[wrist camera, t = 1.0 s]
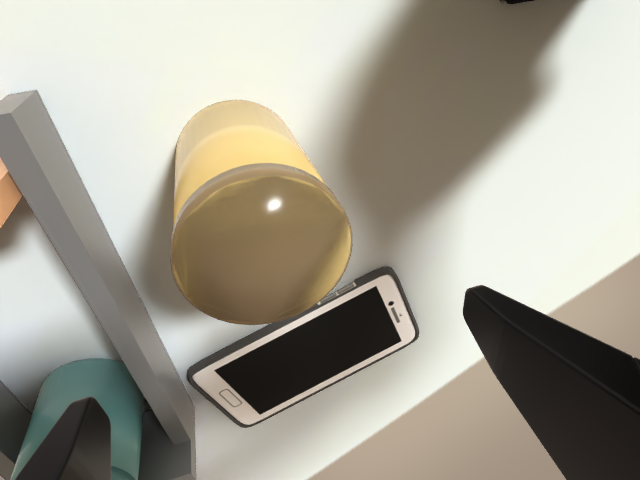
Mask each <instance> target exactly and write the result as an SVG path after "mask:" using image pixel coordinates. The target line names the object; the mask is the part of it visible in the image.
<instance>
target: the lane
mask: <svg viewBox="0 0 640 480" xmlns="http://www.w3.org/2000/svg"><path fill="white" fill-rule="evenodd" d="M0 158H1V160H2V161H3V163H4V165H5V166H6V168H7V170H8V171H9V173H10V175H11V176H12V178H13V180H14V181H15V183H16V184H17V186H18V188H19V189H20V191H21V193H22V194H23V196H24V198H25V199H26V201H27V203H28V204H29V206H30V208H31V209H32V211H33V213H34V214H35V216H36V218H37V219H38V221H39V223H40V224H41V226H42V228H43V229H44V231H45V233H46V234H47V236H48V238H49V239H50V241H51V242H52V244H53V246H54V247H55V249H56V251H57V252H58V254H59V256H60V257H61V259H62V261H63V262H64V264H65V266H66V267H67V269H68V271H69V272H70V274H71V276H72V277H73V279H74V281H75V282H76V284H77V286H78V287H79V289H80V291H81V292H82V294H83V296H84V297H85V299H86V301H87V302H88V304H89V305H90V307H91V309H92V310H93V312H94V314H95V315H96V317H97V319H98V320H99V322H100V324H101V325H102V327H103V329H104V330H105V332H106V334H107V335H108V337H109V339H110V340H111V342H112V344H113V345H114V347H115V349H116V350H117V352H118V354H119V355H120V357H121V359H122V360H123V362H124V364H125V365H126V367H127V368H128V370H129V372H130V373H131V375H132V377H133V378H134V380H135V382H136V383H137V385H138V387H139V388H140V390H141V392H142V393H143V395H144V397H145V398H146V400H147V402H148V403H149V405H150V407H151V408H152V410H149V411H146V412H144V414H143V426H142V439H141V451H140V463H139V475H138V480H196V450H195V417H194V405H193V403H192V401H191V399H190V397H189V395H188V393H187V391H186V389H185V387H184V385H183V383H182V381H181V379H180V377H179V375H178V373H177V371H176V369H175V367H174V365H173V363H172V361H171V359H170V357H169V355H168V353H167V351H166V349H165V347H164V345H163V343H162V341H161V339H160V337H159V335H158V333H157V331H156V329H155V327H154V325H153V323H152V321H151V319H150V317H149V315H148V313H147V311H146V309H145V307H144V305H143V303H142V301H141V299H140V297H139V295H138V293H137V291H136V289H135V287H134V285H133V283H132V281H131V279H130V277H129V275H128V273H127V271H126V269H125V266H124V264H123V262H122V260H121V258H120V256H119V254H118V252H117V250H116V248H115V246H114V244H113V242H112V240H111V238H110V236H109V234H108V232H107V230H106V228H105V226H104V224H103V222H102V220H101V218H100V216H99V214H98V212H97V210H96V208H95V206H94V204H93V202H92V200H91V198H90V196H89V194H88V192H87V190H86V188H85V186H84V184H83V182H82V180H81V178H80V176H79V174H78V172H77V170H76V168H75V166H74V164H73V162H72V160H71V158H70V156H69V154H68V152H67V150H66V148H65V146H64V144H63V142H62V140H61V138H60V136H59V134H58V132H57V130H56V128H55V126H54V124H53V122H52V120H51V118H50V115H49V113H48V111H47V109H46V107H45V105H44V103H43V101H42V99H41V97H40V95H39V93H38V91H37V90H33V91H28V92H22V93H16V94H10V95H8V96H6V97H5V98H4V99H2V100H1V101H0ZM31 416H32V415H31V414H30V413H29V412H28V411H27V410H26V409H25V407H24V406H23V405H22V404H21V403H20V402H19V401H18V400H17V399H16V398H15V396H14V395H13V394H12V393H11V392H10V391H9V390H8V389H7V388H6V387H5V386H4V384H3V383H2V382H1V381H0V476H2V477H3V478H4V479H5V480H10V479H11V476H12V473H13V470H14V467H15V464H16V461H17V458H18V455H19V452H20V449H21V446H22V443H23V440H24V437H25V434H26V431H27V428H28V425H29V422H30V419H31Z"/></svg>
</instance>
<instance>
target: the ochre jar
mask: <svg viewBox="0 0 640 480" xmlns="http://www.w3.org/2000/svg"><path fill="white" fill-rule="evenodd" d="M351 250H352V232H351V226H350V223H349V220H348V217H347V215H346V213H345V211H344V209H343V208H342V206H341V205H340V203H339V202H338V200H337V199H336V197H335V196H334V194H333V193H332V192H331V190H330V189H329V188H328V187H327V186H326V185H325V183H324V182H323V180H322V179H321V177H320V175H319V174H318V172H317V171H316V169H315V168H314V166H313V165H312V163H311V162H310V160H309V159H308V157H307V156H306V154H305V153H304V151H303V149H302V148H301V146H300V145H299V143H298V142H297V140H296V139H295V137H294V136H293V134H292V133H291V131H290V130H289V128H288V127H287V125H286V124H285V123H284V121H283V120H282V119H281V118H280V117H279V116H278V115H277V114H275V113H274V112H273V111H271V110H270V109H268V108H266V107H265V106H262V105H260V104H258V103H254V102H250V101H245V100H228V101H222V102H218V103H215V104H212V105H210V106H208V107H206V108H204V109H202V110H201V111H199V112H198V113H197V114H196V115H194V116H193V117H192V118H191V119H190V120H189V121H188V123H187V124H186V125H185V127H184V128H183V130H182V132H181V134H180V136H179V139H178V142H177V147H176V157H175V192H174V226H173V231H172V237H171V267H172V273H173V276H174V279H175V282H176V284H177V286H178V288H179V290H180V291H181V292H182V294H183V295H184V296H185V298H186V299H187V300H188V301H189V302H190V303H191V304H192V305H193V306H195V307H196V308H197V309H199V310H200V311H202V312H203V313H205V314H207V315H209V316H211V317H213V318H216V319H218V320H222V321H225V322H229V323H235V324H244V325H259V324H268V323H273V322H278V321H282V320H285V319H288V318H291V317H293V316H296V315H298V314H300V313H302V312H304V311H306V310H308V309H309V308H311V307H312V306H314V305H315V304H317V303H318V302H319V301H321V300H322V299H323V298H324V297H325V296H327V294H328V293H329V292H330V291H331V290H332V289H333V288H334V287H335V286H336V284H337V283H338V282H339V280H340V279H341V277H342V275H343V274H344V272H345V270H346V267H347V265H348V262H349V259H350V256H351Z"/></svg>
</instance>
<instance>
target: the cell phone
mask: <svg viewBox="0 0 640 480" xmlns="http://www.w3.org/2000/svg"><path fill="white" fill-rule="evenodd" d="M418 337H419V328H418V325H417V323H416V320H415V318H414V315H413V313H412V310H411V308H410V305H409V303H408V300H407V298H406V296H405V293H404V291H403V288H402V286H401V283H400V281H399V279H398V277H397V275H396V273H395V272H394V271H393V269H392V268H390V267H381V268H379V269H376V270H374V271H372V272H370V273H368V274H366V275H364V276H362V277H360V278H358V279H356V280H355V282H353V283H351V284H349V285H347V286H345V287H344V288H342V289H340V290H338V291H336V292H334V293H332V294H330V295H328V296H326V297H324V298H323V299H322V300H321V301H319V302H318V303H317V304H315V305H314V306H312V307H311V308H309V309H308V310H306V311H304V312H302V313H300V314H298V315H296V316H293V317H291V318H288V319H285V320H282V321H278V322H273V323H271V324H269V325H267V326H265V327H264V328H262V329H260V330H258V331H256V332H254V333H252V334H250V335H248V336H246V337H244V338H243V339H241V340H239V341H237V342H235V343H233V344H231V345H229V346H227V347H225V348H223V349H222V350H220V351H218V352H216V353H214V354H212V355H210V356H208V357H206V358H204V359H202V360H200V361H199V362H197V363H196V364H194V365H193V366H191V367H190V368H189V369H188V380H189V382H190V383H191V385H192V386H193V387H194V388H195V389H196V390H198V391H199V392H200V393H201V394H202V395H203V396H204V397H206V398H207V399H208V400H209V401H210V402H211V403H212V404H214V405H215V406H216V407H217V408H218V409H219V410H221V411H222V412H223V413H224V414H225V415H226V416H227V417H229V418H230V419H231V420H232V421H233V422H234V423H236V424H237V425H239V426H240V427H243V428H247V427H251V426H254V425H256V424H258V423H260V422H262V421H264V420H266V419H268V418H270V417H272V416H274V415H276V414H278V413H280V412H282V411H283V410H285V409H287V408H289V407H291V406H293V405H295V404H297V403H299V402H301V401H303V400H305V399H307V398H308V397H310V396H312V395H314V394H316V393H318V392H320V391H322V390H324V389H326V388H328V387H330V386H332V385H333V384H335V383H337V382H339V381H341V380H343V379H345V378H347V377H349V376H351V375H353V374H355V373H357V372H359V371H360V370H362V369H364V368H366V367H368V366H370V365H372V364H374V363H376V362H378V361H380V360H382V359H384V358H385V357H387V356H389V355H391V354H393V353H395V352H397V351H399V350H401V349H403V348H405V347H406V346H408V345H410V344H411V343H413V342H414V341H416V340H417V339H418Z"/></svg>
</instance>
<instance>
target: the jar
mask: <svg viewBox="0 0 640 480" xmlns="http://www.w3.org/2000/svg"><path fill="white" fill-rule="evenodd" d="M89 396H92V397H94V398H95V399H96V400H97V401H98V402H99V404H100V405H101V407H102V408H103V409H104V411H105V412H106V414H107V415H108V417H109V419H110V424H111V480H138V475H139V463H140V451H141V439H142V426H143V414H144V402H145V397H144V395H143V393H142V392H141V390H140V388H139V387H138V385H137V383H136V382H135V380H134V378H133V377H132V375H131V373H130V372H129V370H128V368H127V367H126V365H125V364H124V363H122V362H119V361H115V360H110V359H97V358H95V359H84V360H79V361H74V362H71V363H68V364H65V365H63V366H61V367H59V368H57V369H56V370H54V371H53V372H51V373H50V374H49V375H48V376H47V377H46V379H45V380H44V381H43V383H42V385H41V388H40V391H39V394H38V397H37V400H36V403H35V406H34V409H33V413H32V416H31V419H30V422H29V425H28V428H27V431H26V434H25V437H24V440H23V443H22V446H21V449H20V452H19V455H18V458H17V461H16V464H15V467H14V470H13V473H12V476H11V479H10V480H14V479H15V478H16V477H17V475H18V474H19V473H20V471H21V470H22V468H23V467H24V466H25V464H26V463H27V462H28V460H29V459H30V458H31V456H32V455H33V453H34V452H35V451H36V449H37V448H38V447H39V445H40V444H41V443H42V441H43V440H44V438H45V437H46V436H47V434H48V433H49V432H50V430H51V429H52V428H53V426H54V425H55V424H56V422H57V421H58V419H59V418H60V417H61V415H62V414H63V413H64V411H65V410H66V409H67V407H68V406H69V405H70V404H71V403H72V402H73V401H75V400H78V399H82V398H85V397H89Z"/></svg>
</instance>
